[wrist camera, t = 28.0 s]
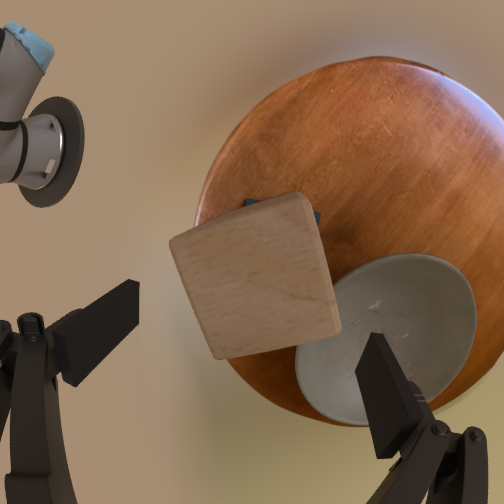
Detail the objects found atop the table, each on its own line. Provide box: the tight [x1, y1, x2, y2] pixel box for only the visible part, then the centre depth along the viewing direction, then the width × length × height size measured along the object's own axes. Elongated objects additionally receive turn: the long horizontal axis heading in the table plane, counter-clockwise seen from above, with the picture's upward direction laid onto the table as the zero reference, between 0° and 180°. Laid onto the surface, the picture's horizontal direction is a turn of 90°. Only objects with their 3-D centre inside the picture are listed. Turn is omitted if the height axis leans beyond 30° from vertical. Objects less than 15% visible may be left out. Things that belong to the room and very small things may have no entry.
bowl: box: [295, 253, 477, 425], centre depth 36 cm, size 27×28×8 cm
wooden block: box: [169, 191, 342, 360], centre depth 28 cm, size 10×10×20 cm
